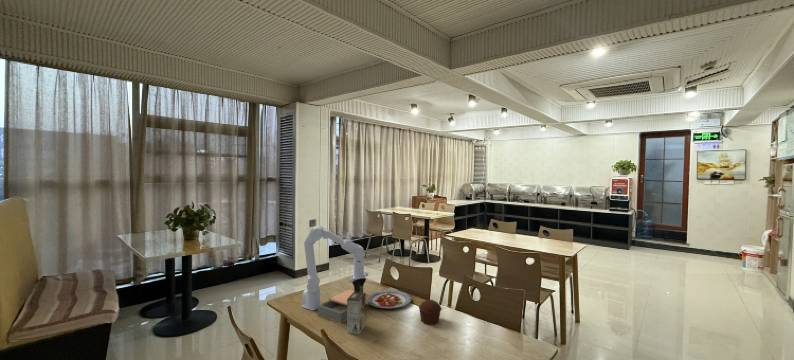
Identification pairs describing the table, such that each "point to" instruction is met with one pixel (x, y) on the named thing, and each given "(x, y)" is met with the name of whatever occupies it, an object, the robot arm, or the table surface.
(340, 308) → the box
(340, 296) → the lid
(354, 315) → the coffee box
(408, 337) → the table surface
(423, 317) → the muffin
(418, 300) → the table surface
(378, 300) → the ceramic plate
